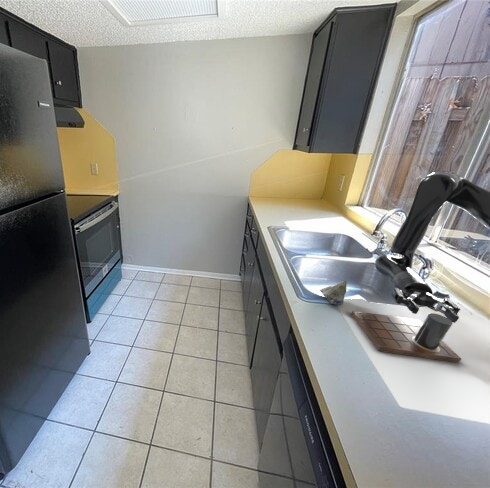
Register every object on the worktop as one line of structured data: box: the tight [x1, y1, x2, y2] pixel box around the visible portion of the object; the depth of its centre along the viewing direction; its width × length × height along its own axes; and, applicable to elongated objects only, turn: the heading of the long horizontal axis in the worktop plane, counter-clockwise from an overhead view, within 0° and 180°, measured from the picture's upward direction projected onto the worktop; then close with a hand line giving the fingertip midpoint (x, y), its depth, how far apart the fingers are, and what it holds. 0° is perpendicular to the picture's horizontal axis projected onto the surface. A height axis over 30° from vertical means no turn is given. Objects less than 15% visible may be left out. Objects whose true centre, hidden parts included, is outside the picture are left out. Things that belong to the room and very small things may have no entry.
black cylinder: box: [414, 312, 453, 350], centre depth 72 cm, size 5×5×9 cm
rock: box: [319, 279, 348, 305], centre depth 92 cm, size 11×6×10 cm
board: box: [350, 310, 462, 364], centre depth 78 cm, size 20×16×2 cm
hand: (435, 315), depth 72 cm, fingers open, 8 cm apart
